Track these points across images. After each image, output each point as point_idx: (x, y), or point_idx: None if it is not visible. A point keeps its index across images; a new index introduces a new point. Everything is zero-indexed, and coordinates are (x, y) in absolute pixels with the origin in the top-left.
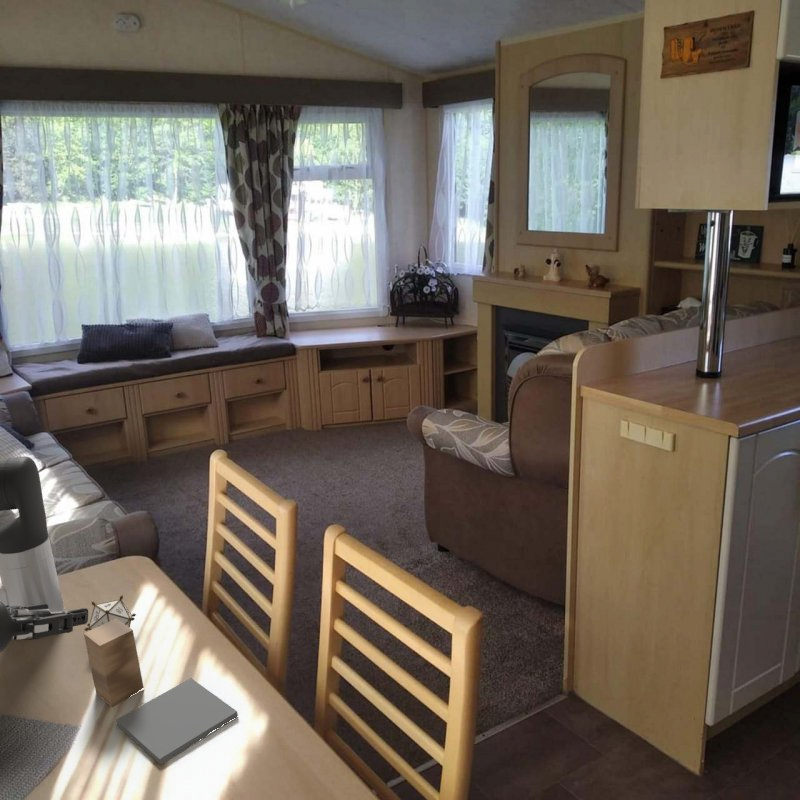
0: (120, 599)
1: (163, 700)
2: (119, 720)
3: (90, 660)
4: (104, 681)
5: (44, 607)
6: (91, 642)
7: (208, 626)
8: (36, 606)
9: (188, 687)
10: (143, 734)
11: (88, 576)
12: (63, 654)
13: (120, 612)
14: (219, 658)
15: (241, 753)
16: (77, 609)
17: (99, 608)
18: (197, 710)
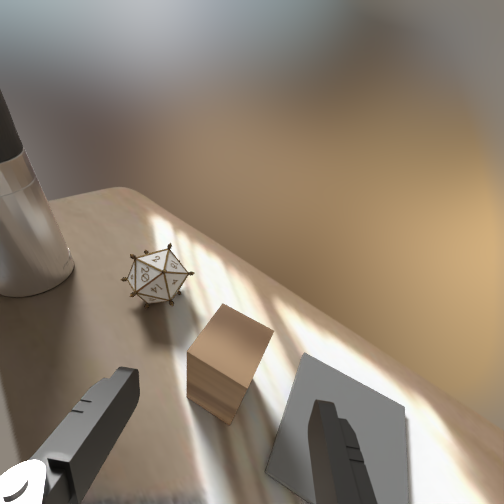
0: (169, 248)
1: (304, 404)
2: (274, 472)
3: (191, 377)
4: (226, 408)
5: (130, 385)
6: (212, 370)
7: (254, 268)
8: (107, 411)
9: (315, 371)
10: None
11: (77, 204)
12: (94, 322)
13: (176, 267)
14: (299, 311)
15: (468, 488)
16: (331, 434)
17: (146, 264)
18: (361, 416)
